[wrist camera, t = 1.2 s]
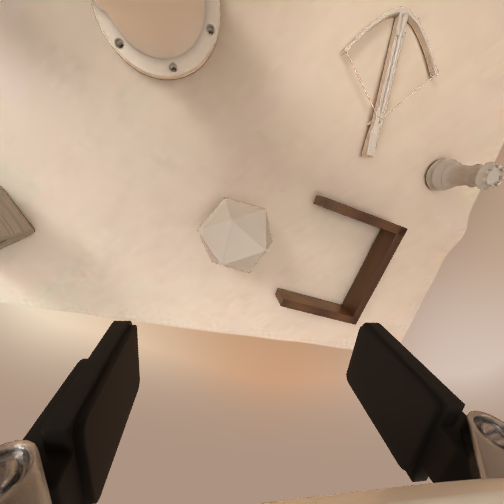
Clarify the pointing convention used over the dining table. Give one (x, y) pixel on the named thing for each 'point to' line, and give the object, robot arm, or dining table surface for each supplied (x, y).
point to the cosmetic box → (11, 222)
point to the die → (236, 234)
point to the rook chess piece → (463, 175)
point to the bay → (366, 276)
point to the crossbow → (392, 68)
